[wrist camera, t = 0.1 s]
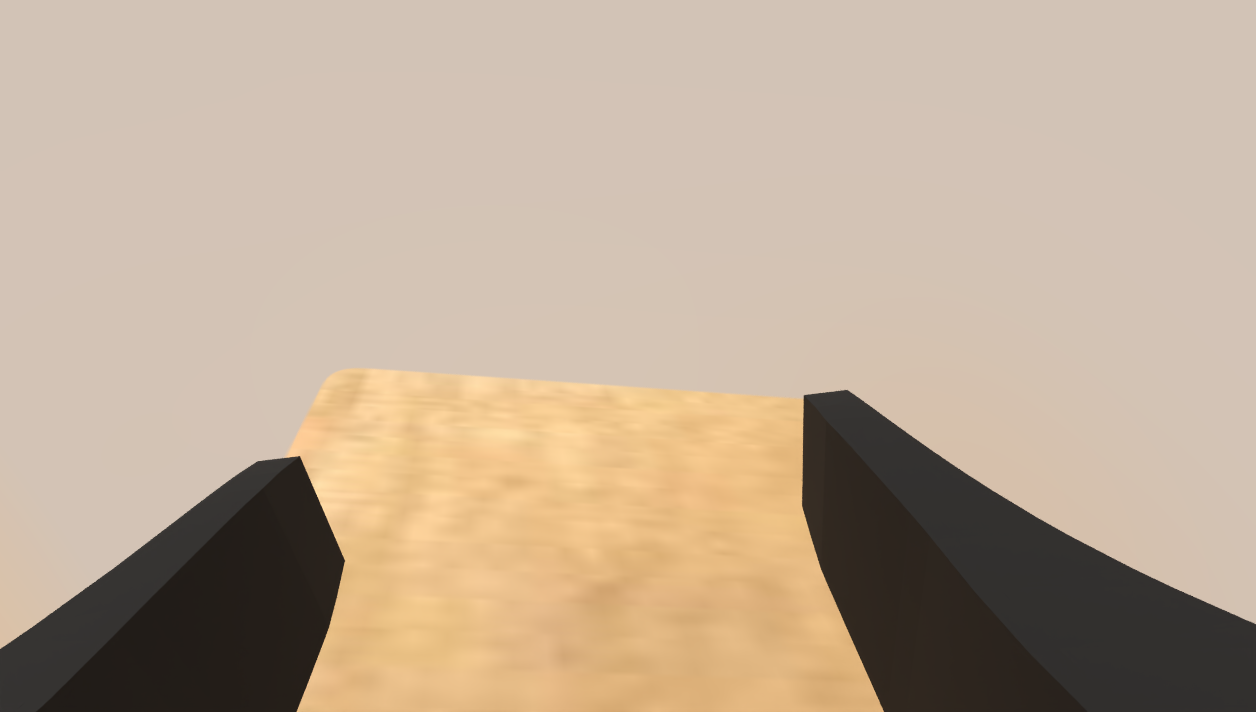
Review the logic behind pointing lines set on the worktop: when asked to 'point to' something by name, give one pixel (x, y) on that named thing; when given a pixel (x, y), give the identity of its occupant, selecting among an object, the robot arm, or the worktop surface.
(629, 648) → the worktop surface
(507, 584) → the worktop surface
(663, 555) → the worktop surface
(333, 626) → the worktop surface
